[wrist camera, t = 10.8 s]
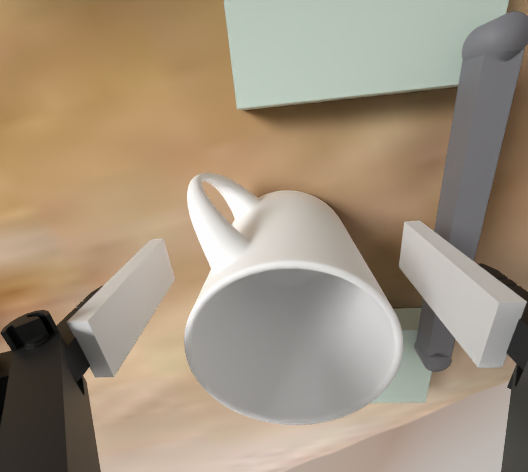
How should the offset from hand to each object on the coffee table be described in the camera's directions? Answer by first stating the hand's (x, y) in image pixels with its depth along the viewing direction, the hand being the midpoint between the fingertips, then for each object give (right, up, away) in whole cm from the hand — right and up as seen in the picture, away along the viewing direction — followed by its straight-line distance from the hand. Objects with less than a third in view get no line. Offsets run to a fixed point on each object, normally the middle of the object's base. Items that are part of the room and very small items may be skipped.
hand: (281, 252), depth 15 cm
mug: (0, +2, +5) cm, 5 cm away
